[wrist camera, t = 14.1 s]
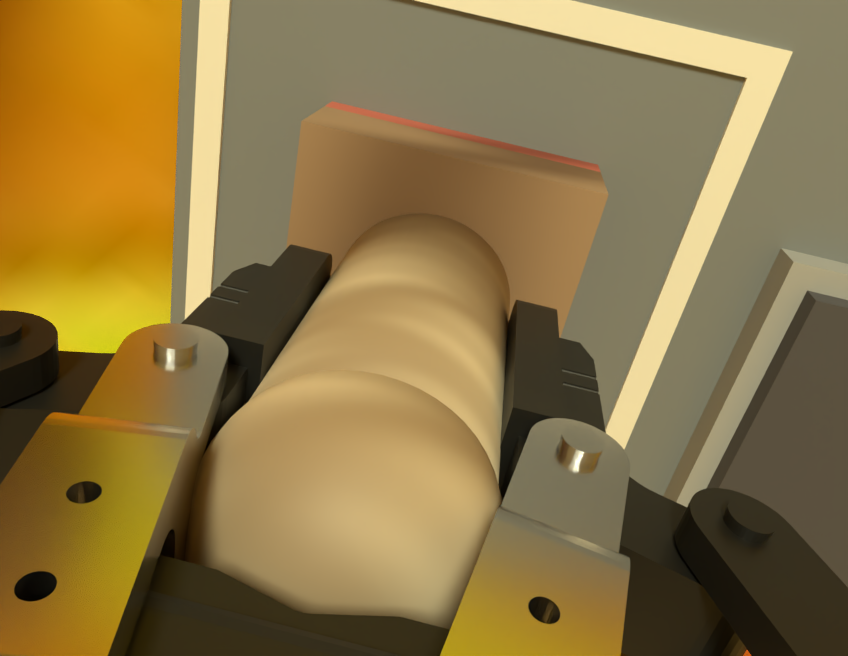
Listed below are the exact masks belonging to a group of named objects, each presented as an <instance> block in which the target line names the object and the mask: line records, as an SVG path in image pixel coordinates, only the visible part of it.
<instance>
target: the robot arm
mask: <svg viewBox="0 0 848 656" xmlns="http://www.w3.org/2000/svg"><path fill="white" fill-rule="evenodd" d="M331 270H332V255H331V254H329V253H325V252H321V251H317V250H313V249H309V248H305V247H301V246H297V245H293V244H291V245H289V246H288V248H287V249H286V250H285V251H284V252H283V253H282V254H281V255H280V257H279V258H278V259H277V260H276V261H275V262H274V263H273V264H272V266H267V265H263V264H259V263H254V264H251V265H249V266H246V267H243V268H240V269H238V270H235V271H233V272H232V273H231V274H230V275H229V276H228V277H227V278H226V279H225V280H224V281H223V282H222V283H221V285H220V287H219V286H218V287H217V288H216V289H215V290H214V291H213V292H212V293H211V294H210V297H207V298H206V299H205V300H204V301H203V302H202V303H201V304H200V305H199V306H198V307H197V308H196V309H195V310H194V311H193V312H192V313H191V314H190V315H189V316H188V317H187V318H186V319H185V320H184V321H183V322H182V323H181V324H176V323H168V324H158V325H152V326H148V327H144V328H142V329H139V330H137V331H135V332H133V333H131V334H130V335H129V336H127V337H126V338H125V339H124V341H123V342H122V344H121V345H120V347H119V348H118V350H117V352H116V353H112V354H110V353H86V352H69V351H58V334H57V330H56V328H55V327H54V325H53V324H52V323H50V322H49V321H48V320H46V319H44V318H42V317H40V316H37V315H34V314H30V313H25V312H18V311H0V656H743V655H744V653H745V651H746V650H748V651H749V653H750V654H751V655H752V656H848V587H847V586H846V585H845V584H844V583H843V582H842V581H841V580H840V578H839V577H838V576H837V575H836V574H835V573H834V572H833V571H832V570H831V569H830V567H829V566H828V565H827V564H826V563H825V562H824V561H823V560H822V559H821V558H820V557H819V555H818V554H817V553H816V552H815V551H814V550H813V549H812V548H811V547H810V546H809V545H808V543H807V542H806V541H805V540H804V539H803V538H802V537H801V536H800V535H799V534H798V533H797V531H796V530H795V529H794V528H793V527H792V526H791V525H790V524H789V523H788V522H787V521H786V520H785V519H784V518H783V517H782V516H781V515H779V514H778V513H777V512H776V511H774V510H773V509H771V508H770V507H768V506H767V505H765V504H764V503H762V502H760V501H758V500H756V499H754V498H752V497H750V496H748V495H745V494H743V493H740V492H737V491H733V490H729V489H723V488H706V489H703V490H700V491H698V492H697V493H695V494H694V496H693V497H692V498H691V500H690V502H689V504H688V506H687V507H685V506H683V505H681V504H679V503H677V502H674V501H672V500H670V499H668V498H666V497H664V496H662V495H659V494H657V493H655V492H653V491H651V490H649V489H648V488H646V487H644V486H643V485H641V484H639V483H638V482H636V481H635V480H634V479H632V478H631V477H630V476H629V474H630V461H629V457H628V456H627V454H626V452H625V450H624V449H623V448H622V447H621V445H620V444H619V443H618V442H617V441H616V440H614V439H613V438H612V437H611V436H609V435H608V434H606V431H605V425H604V419H603V413H602V407H601V400H600V394H598V392H599V388H598V382H597V380H596V377H597V376H596V370H595V364H594V359H593V358H592V357H591V356H590V355H589V353H588V352H587V351H586V350H585V348H584V347H583V346H582V345H581V343H580V342H576V341H571V340H567V339H563V338H559V327H558V315H557V309H554V308H550V307H545V306H541V305H537V304H533V303H529V302H525V301H521V300H516V301H515V303H514V306H513V309H512V312H511V315H510V319H509V322H508V334H507V350H506V365H505V381H504V396H503V412H502V427H501V443H500V450H501V451H500V467H499V483H498V485H499V489H500V493H501V497H502V504H501V505H499V507H498V509H497V512H496V514H495V517H494V519H493V522H492V524H491V527H490V529H489V532H488V535H487V537H486V540H485V542H484V545H483V547H482V550H481V552H480V555H479V557H478V560H477V563H476V565H475V568H474V570H473V573H472V575H471V578H470V580H469V583H468V585H467V588H466V591H465V593H464V596H463V598H462V601H461V603H460V606H459V608H458V611H457V614H456V616H455V619H454V621H453V624H452V626H451V629H446V628H442V627H438V626H434V625H430V624H426V623H422V622H419V621H415V620H411V619H407V618H403V617H397V616H366V615H336V614H310V613H303V612H299V611H296V610H294V609H292V608H290V607H288V606H286V605H284V604H282V603H280V602H278V601H276V600H274V599H273V598H271V597H269V596H267V595H265V594H263V593H261V592H259V591H257V590H255V589H253V588H252V587H250V586H248V585H246V584H244V583H242V582H240V581H238V580H236V579H234V578H232V577H231V576H229V575H227V574H225V573H223V572H221V571H219V570H217V569H213V568H209V567H205V566H201V565H197V564H194V563H190V562H186V561H185V553H186V542H187V534H188V527H189V520H190V514H191V507H192V499H193V492H194V487H195V482H196V477H197V473H198V470H199V466H200V463H201V460H202V457H203V455H204V453H205V452H206V450H207V448H208V446H209V444H210V443H211V441H212V440H213V438H214V437H215V436H216V435H217V433H218V432H219V431H220V430H221V428H222V427H223V426H224V425H225V424H226V422H227V421H228V420H229V419H230V417H231V416H233V415H234V414H235V413H236V412H237V411H238V410H239V409H240V408H241V407H243V406H244V405H245V404H246V403H247V402H248V401H249V400H250V398H251V397H252V395H253V394H254V392H255V391H256V389H257V388H258V386H259V385H260V383H261V382H262V380H263V379H264V377H265V376H266V374H267V373H268V371H269V370H270V368H271V367H272V365H273V364H274V362H275V360H276V359H277V357H278V356H279V354H280V353H281V351H282V350H283V348H284V347H285V345H286V344H287V342H288V341H289V339H290V338H291V336H292V335H293V333H294V332H295V330H296V329H297V327H298V326H299V324H300V323H301V321H302V320H303V318H304V317H305V315H306V314H307V312H308V311H309V309H310V308H311V306H312V305H313V303H314V301H315V300H316V298H317V297H318V295H319V294H320V292H321V291H322V289H323V288H324V286H325V285H326V283H327V282H328V280H329V279H330V277H331Z"/></svg>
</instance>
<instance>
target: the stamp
mask: <svg viewBox="0 0 848 656" xmlns="http://www.w3.org/2000/svg"><path fill="white" fill-rule="evenodd" d="M608 195H609V194H608V191H607V189H606V186H605V183H604V180H603V177H602V175H601V172H600V169H599V166H598V165H597V164H593V163H589V162H584V161H580V160H576V159H572V158H568V157H563V156H559V155H555V154H551V153H547V152H542V151H538V150H534V149H530V148H526V147H522V146H517V145H513V144H509V143H505V142H501V141H496V140H492V139H488V138H484V137H480V136H475V135H471V134H467V133H463V132H459V131H455V130H450V129H446V128H442V127H438V126H434V125H429V124H425V123H421V122H417V121H413V120H408V119H404V118H400V117H396V116H392V115H388V114H383V113H379V112H375V111H371V110H367V109H362V108H358V107H354V106H350V105H346V104H341V103H337V102H333V101H332V102H330V103H329V104H327V105H326V106H324V107H323V108H321V109H319V110H318V111H316V112H315V113H313V114H312V115H310V116H309V117H307V118H305V119H304V120H302V121H301V129H300V138H299V146H298V154H297V163H296V171H295V180H294V188H293V196H292V205H291V213H290V221H289V230H288V238H287V247H286V249H287V248H288V246H289V245H291V244H293V245H297V246H301V247H305V248H309V249H313V250H317V251H321V252H325V253H329V254H331V255H332V270H331V277H330V279H329V280H328V282H327V283H326V285H325V286H324V288H323V289H322V291H321V292H320V294H319V295H318V297H317V298H316V300H315V301H314V303H313V305H312V306H311V308H310V309H309V311H308V312H307V314H306V315H305V317H304V318H303V320H302V321H301V323H300V324H299V326H298V327H297V329H296V330H295V332H294V333H293V335H292V336H291V338H290V339H289V341H288V342H287V344H286V345H285V347H284V348H283V350H282V351H281V353H280V354H279V356H278V357H277V359H276V360H275V362H274V364H273V365H272V367H271V368H270V370H269V371H268V373H267V374H266V376H265V377H264V379H263V380H262V382H261V383H260V385H259V386H258V388H257V389H256V391H255V392H254V394H253V395H252V397H251V398H250V400H249V401H248V402H247V403H246V404H245V405H244V406H243V407H241V408H240V409H239V410H238V411H237V412H236V413H235V414H234V415H233V416H231V417H230V419H229V420H228V421H227V422H226V424H225V425H224V426H223V427H222V428H221V430H220V431H219V432H218V433H217V435H216V436H215V437H214V438H213V440H212V441H211V443H210V444H209V446H208V448H207V450H206V452H205V453H204V455H203V457H202V460H201V463H200V466H199V470H198V473H197V477H196V482H195V487H194V492H193V499H192V507H191V514H190V520H189V527H188V534H187V542H186V553H185V561H186V562H190V563H194V564H197V565H201V566H205V567H209V568H213V569H217V570H219V571H221V572H223V573H225V574H227V575H229V576H231V577H232V578H234V579H236V580H238V581H240V582H242V583H244V584H246V585H248V586H250V587H252V588H253V589H255V590H257V591H259V592H261V593H263V594H265V595H267V596H269V597H271V598H273V599H274V600H276V601H278V602H280V603H282V604H284V605H286V606H288V607H290V608H292V609H294V610H296V611H299V612H303V613H310V614H336V615H366V616H397V617H403V618H407V619H411V620H415V621H419V622H422V623H426V624H430V625H434V626H438V627H442V628H446V629H451V626H452V624H453V621H454V619H455V616H456V614H457V611H458V608H459V606H460V603H461V601H462V598H463V596H464V593H465V591H466V588H467V585H468V583H469V580H470V578H471V575H472V573H473V570H474V568H475V565H476V563H477V560H478V557H479V555H480V552H481V550H482V547H483V545H484V542H485V540H486V537H487V535H488V532H489V529H490V527H491V524H492V522H493V519H494V517H495V514H496V512H497V509H498V507H499V505H501V504H502V497H501V493H500V489H499V485H498V483H499V467H500V451H501V450H500V443H501V427H502V412H503V396H504V381H505V365H506V350H507V334H508V322H509V319H510V315H511V312H512V309H513V306H514V303H515V301H516V300H521V301H525V302H529V303H533V304H537V305H541V306H545V307H550V308H554V309H557V315H558V327H559V338H560V337H561V334H562V331H563V328H564V325H565V322H566V319H567V316H568V313H569V310H570V307H571V304H572V301H573V298H574V295H575V293H576V290H577V287H578V284H579V281H580V278H581V275H582V272H583V269H584V266H585V263H586V260H587V257H588V254H589V251H590V248H591V245H592V242H593V239H594V236H595V234H596V231H597V228H598V225H599V222H600V219H601V216H602V213H603V210H604V207H605V204H606V201H607V198H608Z"/></svg>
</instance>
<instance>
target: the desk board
mask: <svg viewBox="0 0 848 656" xmlns="http://www.w3.org/2000/svg"><path fill="white" fill-rule="evenodd" d="M332 101H333V102H337V103H341V104H346V105H350V106H354V107H358V108H362V109H367V110H371V111H375V112H379V113H383V114H388V115H392V116H396V117H400V118H404V119H408V120H413V121H417V122H421V123H425V124H429V125H434V126H438V127H442V128H446V129H450V130H455V131H459V132H463V133H467V134H471V135H475V136H480V137H484V138H488V139H492V140H496V141H501V142H505V143H509V144H513V145H517V146H522V147H526V148H530V149H534V150H538V151H542V152H547V153H551V154H555V155H559V156H563V157H568V158H572V159H576V160H580V161H584V162H589V163H593V164H597V165H598V166H599V169H600V172H601V175H602V177H603V180H604V183H605V186H606V189H607V191H608V194H609V195H608V198H607V201H606V204H605V207H604V210H603V213H602V216H601V219H600V222H599V225H598V228H597V231H596V234H595V236H594V239H593V242H592V245H591V248H590V251H589V254H588V257H587V260H586V263H585V266H584V269H583V272H582V275H581V278H580V281H579V284H578V287H577V290H576V293H575V295H574V298H573V301H572V304H571V307H570V310H569V313H568V316H567V319H566V322H565V325H564V328H563V331H562V334H561V337H560V338H563V339H567V340H571V341H576V342H580V343H581V345H582V346H583V347H584V348H585V350H586V351H587V352H588V353H589V355H590V356H591V357H592V358H593V359H594V364H595V370H596V376H597V377H596V380H597V382H598V388H599V392H598V394H600V400H601V407H602V413H603V419H604V425H605V431H606V434H608V435H609V436H611V437H612V438H613V439H614V440H616V441H617V442H618V443H619V444H620V445H621V447H622V448H623V449H624V450H625V452H626V454H627V456H628V457H629V461H630V474H629V476H630V477H631V478H632V479H634V480H635V481H636V482H638V483H639V484H641V485H643V486H644V487H646V488H648V489H649V490H651V491H653V492H655V493H657V494H659V495H662V496H664V497H666V498H668V499H670V500H672V501H674V502H677V503H679V504H681V505H683V506H685V507H687V506H688V504H689V502H690V500H691V498H692V497H693V496H694V494H695V493H697V492H698V491H700V490H703V489H706V488H723V489H729V490H733V491H737V492H740V493H743V494H745V495H748V496H750V497H752V498H754V499H756V500H758V501H760V502H762V503H764V504H765V505H767V506H768V507H770V508H771V509H773V510H774V511H776V512H777V513H778V514H779V515H781V516H782V517H783V518H784V519H785V520H786V521H787V522H788V523H789V524H790V525H791V526H792V527H793V528H794V529H795V530H796V531H797V533H798V534H799V535H800V536H801V537H802V538H803V539H804V540H805V541H806V542H807V543H808V545H809V546H810V547H811V548H812V549H813V550H814V551H815V552H816V553H817V554H818V555H819V557H820V558H821V559H822V560H823V561H824V562H825V563H826V564H827V565H828V566H829V567H830V569H831V570H832V571H833V572H834V573H835V574H836V575H837V576H838V577H839V578H840V580H841V581H842V582H843V583H844V584H845V585H846V586H847V587H848V0H182V25H181V52H180V79H179V106H178V133H177V160H176V187H175V214H174V242H173V269H172V296H171V323H176V324H181V323H182V322H183V321H184V320H185V319H186V318H187V317H188V316H189V315H190V314H191V313H192V312H193V311H194V310H195V309H196V308H197V307H198V306H199V305H200V304H201V303H202V302H203V301H204V300H205V299H206V298H207V297H210V294H211V293H212V292H213V291H214V290H215V289H216V288H217V287H218V286H219V287H220V285H221V283H222V282H223V281H224V280H225V279H226V278H227V277H228V276H229V275H230V274H231V273H232V272H233V271H235V270H238V269H240V268H243V267H246V266H249V265H251V264H254V263H259V264H263V265H267V266H272V264H273V263H274V262H275V261H276V260H277V259H278V258H279V257H280V255H281V254H282V253H283V252H284V251H285V250H286V247H287V238H288V230H289V221H290V213H291V205H292V196H293V188H294V180H295V171H296V163H297V154H298V146H299V138H300V129H301V121H302V120H304V119H305V118H307V117H309V116H310V115H312V114H313V113H315V112H316V111H318V110H319V109H321V108H323V107H324V106H326V105H327V104H329V103H330V102H332Z"/></svg>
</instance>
